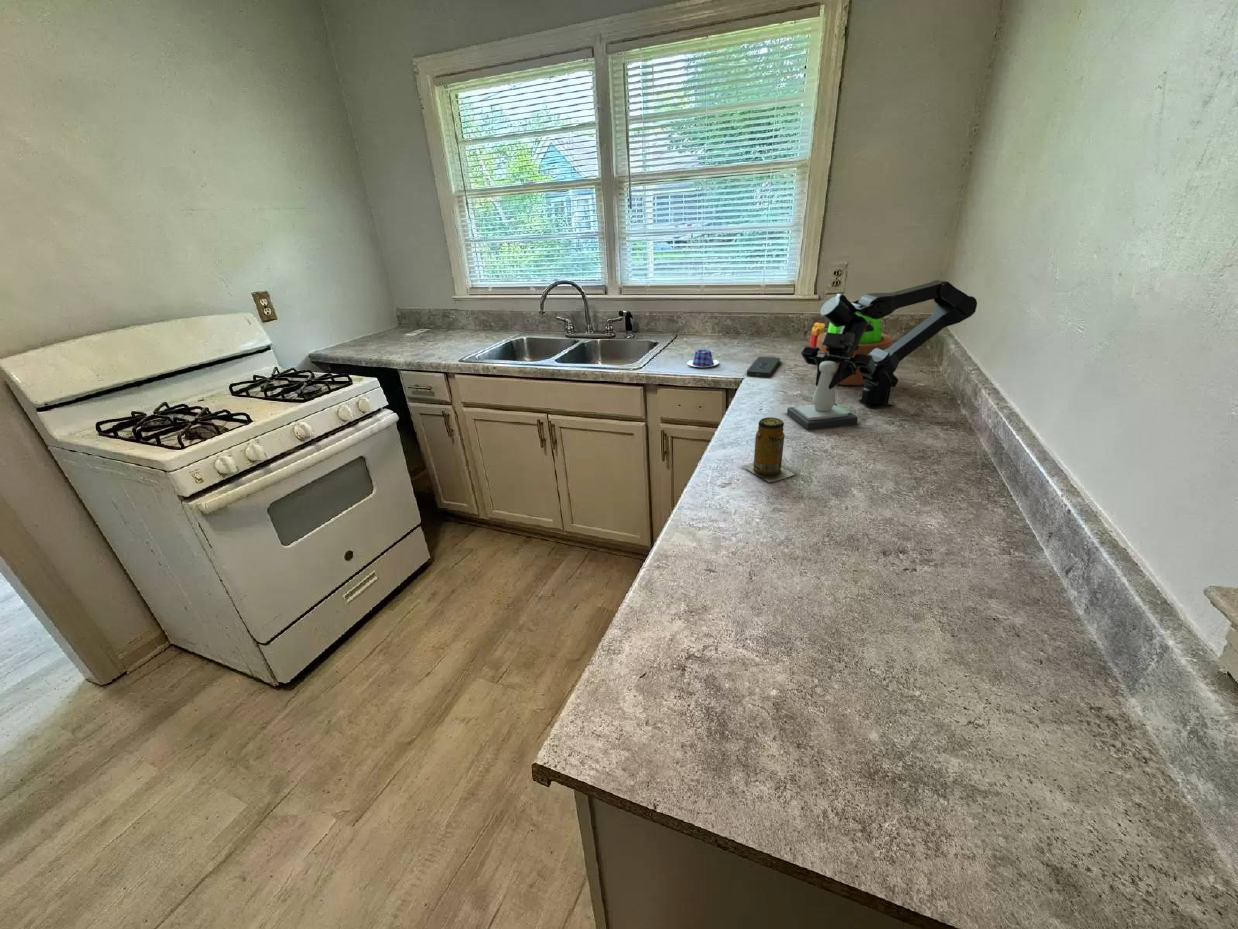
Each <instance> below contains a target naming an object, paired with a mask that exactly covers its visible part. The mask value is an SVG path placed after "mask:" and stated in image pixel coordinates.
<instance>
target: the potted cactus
mask: <svg viewBox="0 0 1238 929" xmlns="http://www.w3.org/2000/svg"><path fill="white" fill-rule="evenodd" d="M855 314H856V315H858V316H862V315H860V314H858V313H855ZM862 317H864V318H865V319H866V320H867V321H871V324H872V326H873V329H874V330H873V331H869V332H864V334H863V336H862V338H861V340H860V342H859V344H858V346H859V348H858V350H855V351H854V353H853V355H852V357H851V358H854V357H855V355H856V354H858V353H859V354H866V355H868V354H869V353H871V352H872V351H873V350H874V349H875V348H879V349H881V350H885V349H887V348H889V347H890V346H892V345H893V344H892V343H893V338H892V337H891V336H890V335H888V334H886V333H884V332H883V326H882V320H881V318H880V319H872V318H869V317H866V316H862ZM842 327H843V326H840V327H835V326H834V325H833V324H831V323H830V322H829V325H828V327H827V331H826V332H829V333H839V332H840V330H841V328H842ZM826 332H825V331H824V332H823V333H822V334H820V335H819V336H818V339H817V347H819V349H820V351H821V352H825V353H827V354H828V353H829V351H827V350H826V347H827V346H825V345H822V342H823V339H824V336H825V333H826ZM836 364H837V370H838V367H839V363H836ZM837 370H836V371H835V372H834V375H835V373H836V372H837ZM865 383H867V381H865V380H863V378H862V375H861V373H860V371H859V367H858V368H857V370H856V374H855V375H851V376H849V377H848V378H846V379H844V380H843V381H841V382H840V383H839V384H838V385H840V386H865Z"/></svg>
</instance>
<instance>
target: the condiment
mask: <svg viewBox="0 0 1238 929" xmlns="http://www.w3.org/2000/svg"><path fill="white" fill-rule="evenodd" d="M784 426H785V422H784V421H783V420H782V419H780V418H778V417H771V416H770V417H768V416H767V417H763V418H761V419H759V421H758V426H757V431H756V433H755V441H754V452H753V453H754V455H753V464H752V465H748V466H744V469H746V470H747V471H749V472H751V473H752V474H754V475H756V476H757V477H760V479H762V480H764V481H766V482H768V483H774V482H776V481H781V480H783V479H786V478H789V477H792V476H794V475H796V474H795V473H794V472H792V471H790V470H788V469H786V468H784V467H782V463H783V454H784V446H785V445H784V444H785V433H784V429H785V428H784Z"/></svg>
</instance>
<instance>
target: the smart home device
mask: <svg viewBox="0 0 1238 929" xmlns="http://www.w3.org/2000/svg"><path fill="white" fill-rule="evenodd" d="M780 362H781V359H780V357H774V356H758V357H757V358H756V360H754V362H753V363H752V364H751V365H750V366H749V367H748V369H747V370H746V376H748V377H749V376H751V377H761V378H762V377H763V378H769V377H771V376H772V374H773V373H774V371H775V370H776V368H777V367H778V366H779V364H780Z"/></svg>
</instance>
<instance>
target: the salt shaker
mask: <svg viewBox="0 0 1238 929" xmlns="http://www.w3.org/2000/svg"><path fill="white" fill-rule="evenodd" d="M819 370H820V371H821V375H820V378H819V382H818V386H816V388H815V391H814V393H813V397H812V404H814V407H815V409H816V410H818V411H829V410H831V409H832V407H833V405H834V404H835V403H836V401H837V399H836V386H835V387H833V388H832V389H829V388H828V387H829V384H830V382H831V380H832V379H833V377H834V372H835V371H836V370H837V364H836V363H835V362H832V361H824V362H822V363H821V364H820V366H819Z"/></svg>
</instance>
